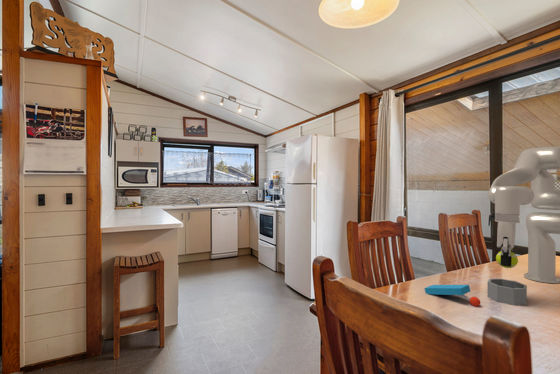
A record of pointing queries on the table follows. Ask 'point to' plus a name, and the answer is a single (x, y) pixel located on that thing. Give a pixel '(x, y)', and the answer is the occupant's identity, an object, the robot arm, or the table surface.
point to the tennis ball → (513, 260)
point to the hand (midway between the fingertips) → (506, 263)
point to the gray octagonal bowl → (507, 291)
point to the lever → (453, 292)
